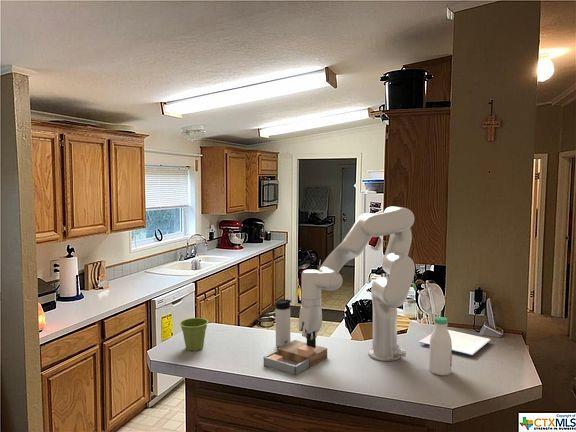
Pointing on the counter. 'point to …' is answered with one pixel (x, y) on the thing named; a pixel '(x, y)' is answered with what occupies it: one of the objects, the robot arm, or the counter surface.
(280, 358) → the tile
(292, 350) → the brown piece
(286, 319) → the travel mug
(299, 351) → the tile
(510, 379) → the counter surface
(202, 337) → the plant pot
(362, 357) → the counter surface
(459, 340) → the plate
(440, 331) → the milk bottle
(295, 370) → the box
